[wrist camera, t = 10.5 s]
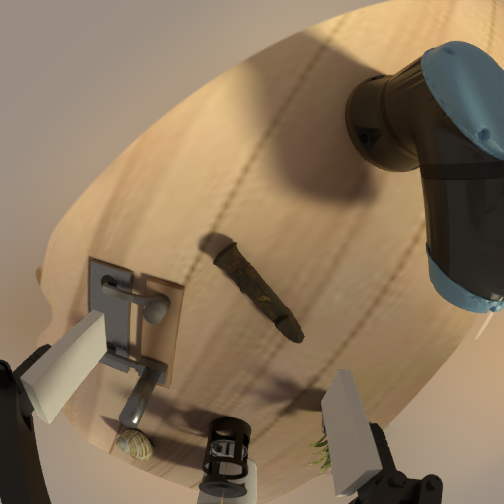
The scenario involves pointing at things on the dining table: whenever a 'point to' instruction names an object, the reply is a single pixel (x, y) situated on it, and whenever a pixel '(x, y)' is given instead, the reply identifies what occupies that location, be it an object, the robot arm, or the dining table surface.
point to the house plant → (323, 449)
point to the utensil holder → (249, 500)
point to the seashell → (135, 444)
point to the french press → (226, 458)
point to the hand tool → (259, 291)
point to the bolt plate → (112, 308)
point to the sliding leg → (139, 386)
